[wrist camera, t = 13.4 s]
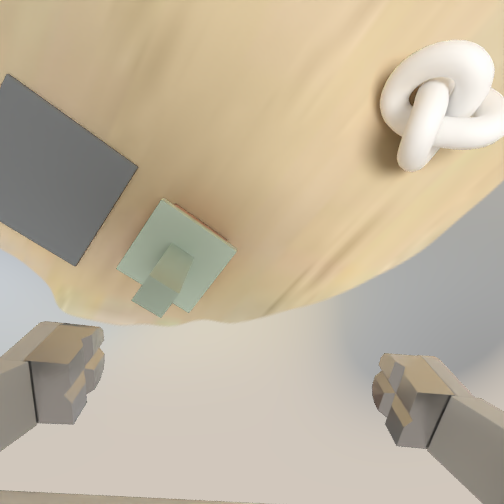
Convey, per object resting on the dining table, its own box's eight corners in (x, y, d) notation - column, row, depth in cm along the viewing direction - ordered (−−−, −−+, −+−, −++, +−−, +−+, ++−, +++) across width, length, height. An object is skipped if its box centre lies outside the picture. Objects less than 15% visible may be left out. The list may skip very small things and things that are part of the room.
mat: (-45, 192, 37) (-48, 192, 37) (9, 74, 33) (6, 73, 33) (76, 265, 41) (74, 266, 40) (138, 167, 37) (137, 167, 36)
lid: (119, 265, 36) (75, 308, 27) (163, 197, 34) (133, 218, 24) (190, 308, 38) (173, 362, 29) (236, 248, 36) (235, 285, 26)
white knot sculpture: (345, 99, 35) (378, 84, 27) (440, 28, 33) (509, -12, 24) (389, 180, 38) (430, 190, 30) (478, 120, 36) (550, 113, 28)
